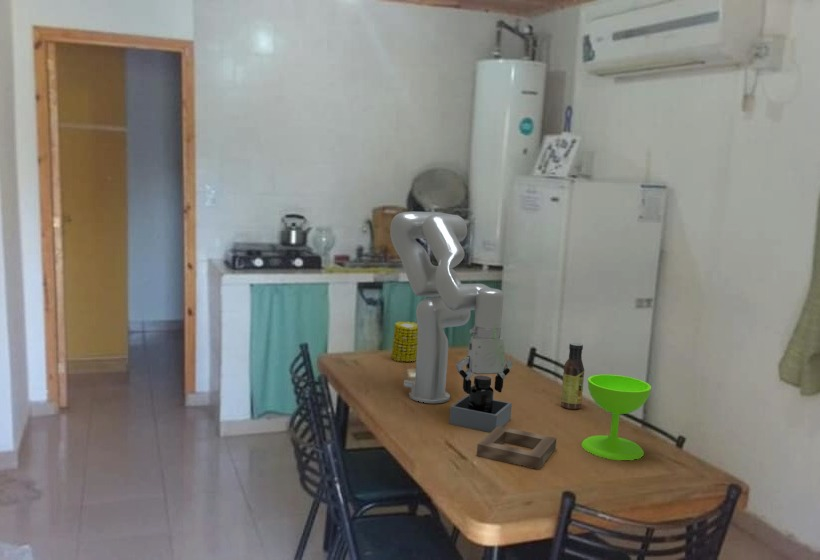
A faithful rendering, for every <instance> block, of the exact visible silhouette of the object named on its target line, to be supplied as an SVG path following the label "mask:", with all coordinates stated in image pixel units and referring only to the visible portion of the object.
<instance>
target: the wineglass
mask: <svg viewBox="0 0 820 560" xmlns="http://www.w3.org/2000/svg"><path fill="white" fill-rule="evenodd" d="M587 388H588V391H589V394H590V396H591V398H592V399H593V401H594V403H595V404H596V405H598V406H599V407H600V408H601V409H602V410H604V411H605V412H608V413H611V421H610V422H611V423H610V433H609V435H606V434H605V435H604V434H603V435H602V434H601V435H599V434H598V435H591V436H588V437H586V438H585V439H584V440H583V441H582V443H581V447H582V449H583V448H584V449H585V451H586V450H587V451H588V453H589V452H590V453H589V454H591V453H592V454H591V455H593V454H594V455H593V456H596V457H598V456H599V458H602V457H603V458H602V459H606V458H607V460H612V461H621V460H630V461H635V460H634V459H637V460H639V459H642V458H643V457H642V456H644V455H645V454H644V453H645V452H644V450H643V449H642V447H641V446H640V445H639V444H637V443H636V442H634V441H632V440H629V439H627V438H623V437H620V436H618V435H619V434H618V433H619V424H620V416H621V415H624V414H625V415H626V414H631V413H633V412H636V411H637V410H639V409H640V408H642V406H643V405H645V404H646V402H647V400H648V398H649V397H650V394H651V390H652V385H650V384H649V383H648V382H646V381H644V380H641V379H638V378H634V377H631V376H626V375H618V374H595V375H591V376H589V377H588V378H587ZM584 449H583V450H584ZM587 451H586V452H587ZM641 457H642V458H641Z"/></svg>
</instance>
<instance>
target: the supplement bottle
mask: <svg viewBox="0 0 820 560" xmlns="http://www.w3.org/2000/svg"><path fill="white" fill-rule="evenodd" d="M491 385H492V378H491V377H490V376H487V375H475V376H474V379H473V385H471V393H470V394H468V395H469V405H468V409H470V410H475V411H480V412H485V413H490V414H492V407H493V400H494V394H495V391H494V388H493V387H492V386H491Z"/></svg>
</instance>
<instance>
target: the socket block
mask: <svg viewBox="0 0 820 560" xmlns="http://www.w3.org/2000/svg"><path fill="white" fill-rule="evenodd" d="M504 443H505V444H510V445H515V446H518V447H519V446H520V447H525V448H529V449H532V450H528V449H527V450H526V449H522V448H517V447H513V446H509V445H504ZM556 447H557V437H554V436H549V435H543V434H539V433H534V432H529V431H524V430H519V429H514V428H510V427H504V426H503V427H500V426H497V427H496V428H495V429H494V430H493V431H492V432H489V433H488V434H487V435H486V436H485V437H484V438H483V439H482V440H480V442H478V443H477V448H476V456H478V457H480V458H486V459H491V460H494V461H500V462H502V463H503V462H504V463H507V462H508V464H512V463H513V464H512V465H516V464H518V465H517V466H521V465H523V466H522V467H525V466H527V467H526V468H530V467H532V468H531V469H534V468H536V469H535V470H538V469H539V470H541V468H542V467H543V466H544V464H545V463H546V462H547V461H548V459H549V458H550V457H551V456H552V454H553V453H554V451H556Z"/></svg>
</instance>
